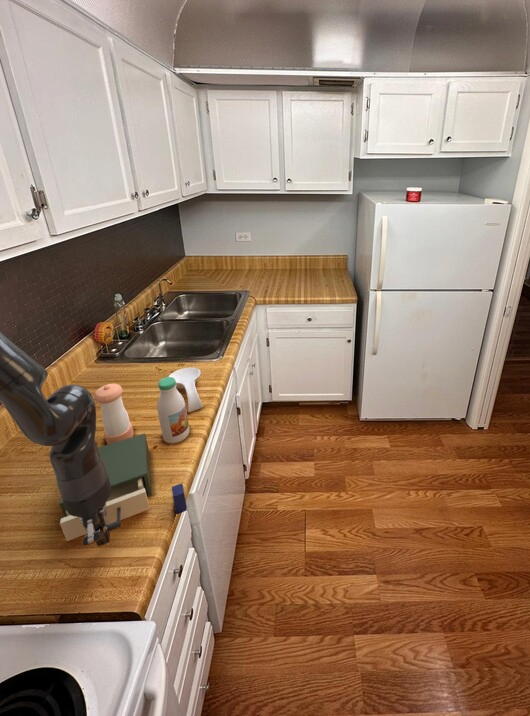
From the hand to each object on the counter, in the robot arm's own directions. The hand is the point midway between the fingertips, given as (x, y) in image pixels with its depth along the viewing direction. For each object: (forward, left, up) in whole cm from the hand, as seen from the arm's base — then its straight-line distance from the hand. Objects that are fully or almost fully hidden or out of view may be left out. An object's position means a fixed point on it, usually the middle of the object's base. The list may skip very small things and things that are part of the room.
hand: (104, 541), depth 70 cm
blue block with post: (+15, +6, -4) cm, 17 cm away
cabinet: (0, +18, -4) cm, 18 cm away
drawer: (0, +11, -3) cm, 11 cm away
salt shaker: (+1, +36, -4) cm, 36 cm away
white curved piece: (+23, +49, -4) cm, 55 cm away
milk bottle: (+17, +29, -4) cm, 34 cm away
